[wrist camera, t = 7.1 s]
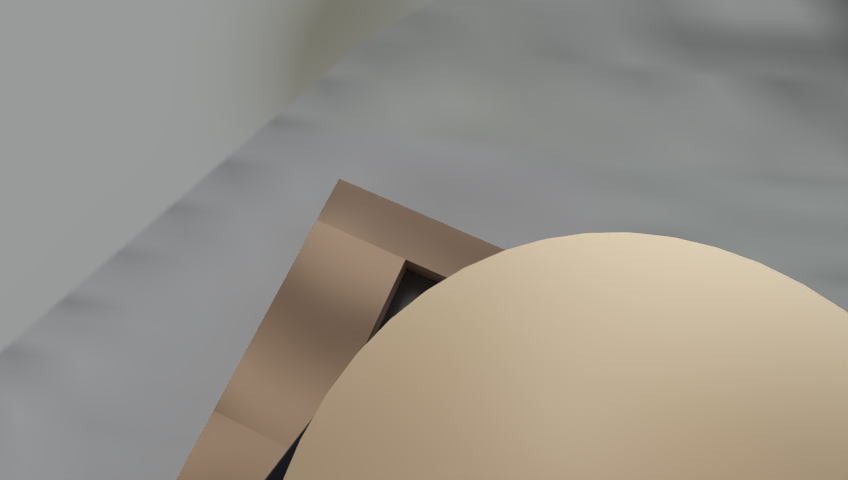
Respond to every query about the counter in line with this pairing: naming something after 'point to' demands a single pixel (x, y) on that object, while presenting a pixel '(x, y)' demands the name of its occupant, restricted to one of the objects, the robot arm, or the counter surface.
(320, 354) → the brown wooden flat piece
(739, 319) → the beige rounded piece
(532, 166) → the counter surface
